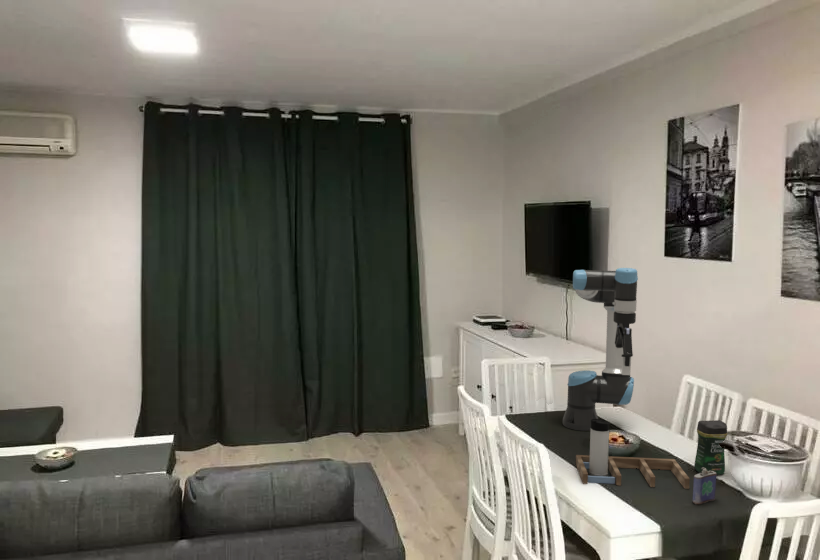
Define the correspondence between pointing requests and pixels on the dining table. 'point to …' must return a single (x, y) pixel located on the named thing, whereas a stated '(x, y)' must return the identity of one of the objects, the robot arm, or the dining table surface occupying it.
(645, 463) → the divider rack
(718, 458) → the coffee jar
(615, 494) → the dining table surface
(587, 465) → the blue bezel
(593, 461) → the travel mug
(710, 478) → the flask
